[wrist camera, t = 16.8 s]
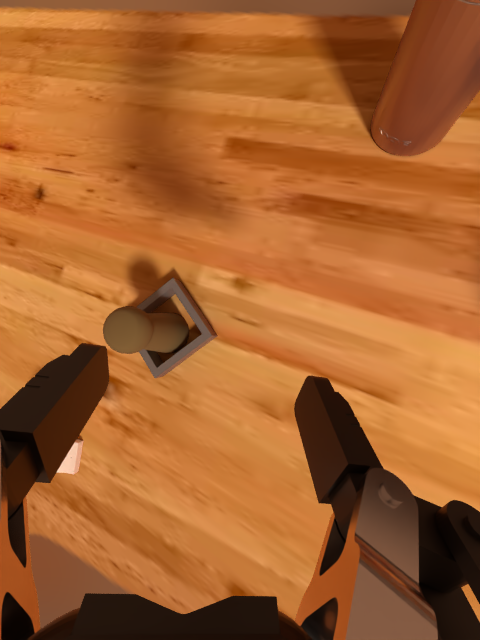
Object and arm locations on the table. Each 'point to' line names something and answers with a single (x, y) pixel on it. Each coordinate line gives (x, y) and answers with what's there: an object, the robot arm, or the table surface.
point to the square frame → (207, 332)
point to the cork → (145, 331)
